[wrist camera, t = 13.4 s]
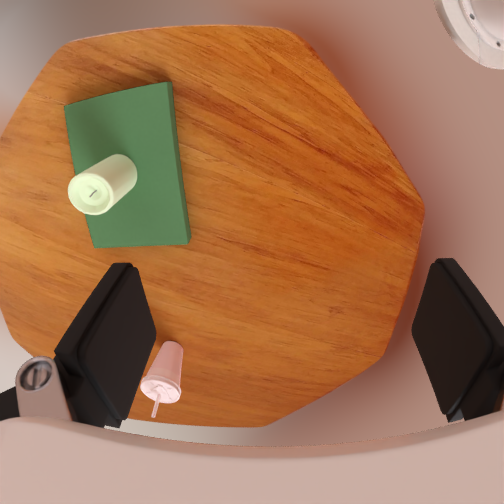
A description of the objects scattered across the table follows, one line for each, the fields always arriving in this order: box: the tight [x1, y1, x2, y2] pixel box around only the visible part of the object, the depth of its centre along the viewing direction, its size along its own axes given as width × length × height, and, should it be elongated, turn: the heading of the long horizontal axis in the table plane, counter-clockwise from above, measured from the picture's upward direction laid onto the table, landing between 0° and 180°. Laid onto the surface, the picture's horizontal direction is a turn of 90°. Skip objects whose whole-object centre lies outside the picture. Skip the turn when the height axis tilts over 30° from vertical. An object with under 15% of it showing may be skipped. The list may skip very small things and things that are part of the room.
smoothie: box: [140, 341, 183, 418], centre depth 46 cm, size 6×6×14 cm
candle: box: [68, 154, 137, 215], centre depth 31 cm, size 5×5×8 cm
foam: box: [64, 82, 191, 248], centre depth 36 cm, size 20×14×2 cm
